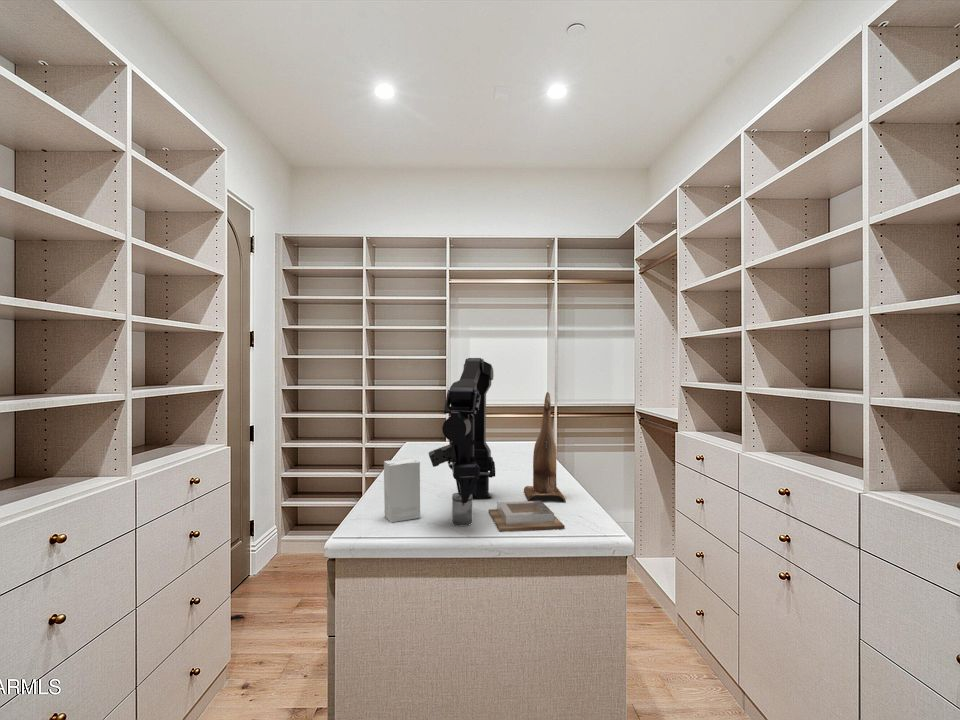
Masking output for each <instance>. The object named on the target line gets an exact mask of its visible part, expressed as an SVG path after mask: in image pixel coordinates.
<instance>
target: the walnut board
mask: <svg viewBox="0 0 960 720" xmlns="http://www.w3.org/2000/svg"><path fill="white" fill-rule="evenodd" d="M488 514H489V516H490V518H491V517H492V518H491V520H492V519H493V520H492V521H493V523H494V522H495V523H494V524H496V525H495V526H497V527H496V528H497V530H498V532H500V533H503V532H502V531H509V532H523V531H525V532H526V531H531V530H532V531H547V530H548V531H551V530H553V529H555V530H566V528H565V525H564V524H563V522H561V520H560V519H559V518H557V516H555V515H554V524H530V525H505V523H504V521H503V520H502V518H501V517H500V515H499V513H498V512H497V508H492V509H491V508H490V509H488Z"/></svg>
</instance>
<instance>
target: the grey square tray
mask: <svg viewBox="0 0 960 720" xmlns="http://www.w3.org/2000/svg"><path fill="white" fill-rule="evenodd" d="M496 509H497V512H498V513H499V515H500V517H501V518H502V520H503V521H504V523H505V525H530V524H554V516H555V513H554V512H553V511H552V510H551V509H550V508H549V506H547V505H546V504H545V503H544V502H543V501H542V500H529V501H528V500H521V501H497V504H496Z"/></svg>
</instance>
